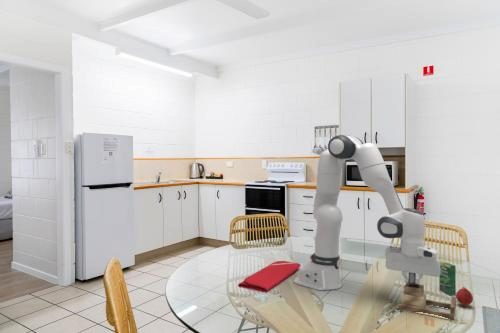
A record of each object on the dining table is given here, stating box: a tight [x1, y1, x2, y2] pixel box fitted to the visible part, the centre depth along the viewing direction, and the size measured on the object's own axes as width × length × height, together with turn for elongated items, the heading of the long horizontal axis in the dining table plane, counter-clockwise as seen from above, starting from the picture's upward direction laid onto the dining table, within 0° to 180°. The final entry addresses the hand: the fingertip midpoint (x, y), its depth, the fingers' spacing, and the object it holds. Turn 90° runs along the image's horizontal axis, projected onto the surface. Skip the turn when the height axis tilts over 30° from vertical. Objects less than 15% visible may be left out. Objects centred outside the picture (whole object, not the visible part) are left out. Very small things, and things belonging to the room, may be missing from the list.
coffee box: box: [438, 260, 457, 297], centre depth 161 cm, size 8×3×13 cm, turn 6°
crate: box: [400, 283, 427, 309], centre depth 144 cm, size 8×8×8 cm
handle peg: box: [408, 272, 417, 288], centre depth 144 cm, size 3×3×10 cm
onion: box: [455, 286, 474, 307], centre depth 145 cm, size 6×6×8 cm
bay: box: [397, 296, 457, 321], centre depth 141 cm, size 19×12×5 cm, turn 58°
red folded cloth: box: [237, 260, 302, 293], centre depth 181 cm, size 16×41×4 cm, turn 150°
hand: (412, 283), depth 144 cm, fingers closed on handle peg, 2 cm apart
